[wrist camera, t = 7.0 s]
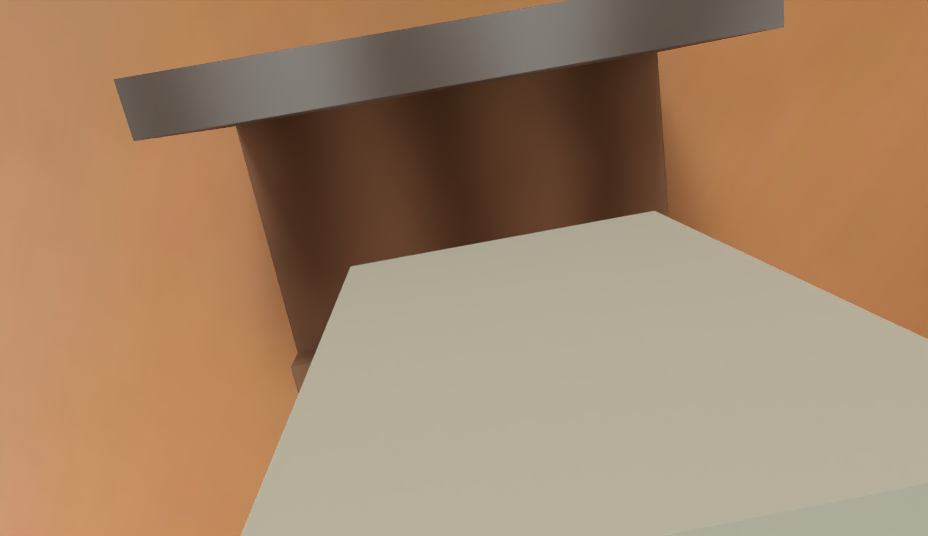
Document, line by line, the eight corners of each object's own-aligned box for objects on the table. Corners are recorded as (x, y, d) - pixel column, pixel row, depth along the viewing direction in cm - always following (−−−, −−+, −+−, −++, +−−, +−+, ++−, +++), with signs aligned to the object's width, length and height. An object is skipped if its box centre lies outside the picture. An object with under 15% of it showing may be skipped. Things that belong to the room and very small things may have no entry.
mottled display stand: (629, 20, 27) (783, -37, 16) (651, 295, 31) (786, 411, 20) (246, 87, 27) (113, 79, 15) (317, 356, 31) (254, 511, 19)
